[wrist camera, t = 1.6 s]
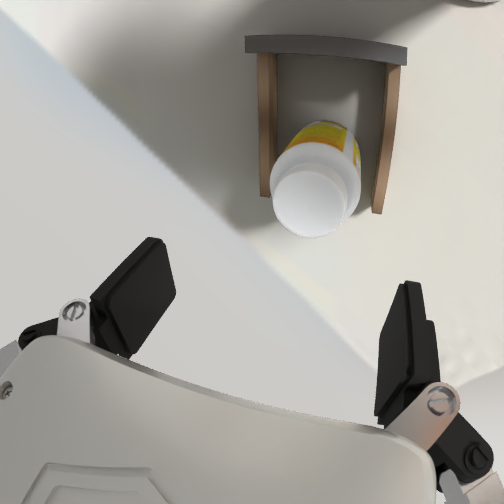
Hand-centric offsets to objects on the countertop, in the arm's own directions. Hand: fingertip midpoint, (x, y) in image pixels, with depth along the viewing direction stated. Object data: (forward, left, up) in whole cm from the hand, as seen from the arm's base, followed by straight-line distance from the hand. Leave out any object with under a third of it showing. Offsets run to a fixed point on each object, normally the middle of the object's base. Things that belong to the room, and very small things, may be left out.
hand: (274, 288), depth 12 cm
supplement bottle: (0, 0, -16) cm, 16 cm away
